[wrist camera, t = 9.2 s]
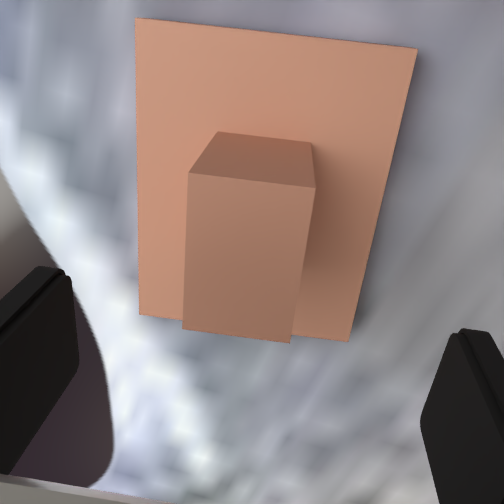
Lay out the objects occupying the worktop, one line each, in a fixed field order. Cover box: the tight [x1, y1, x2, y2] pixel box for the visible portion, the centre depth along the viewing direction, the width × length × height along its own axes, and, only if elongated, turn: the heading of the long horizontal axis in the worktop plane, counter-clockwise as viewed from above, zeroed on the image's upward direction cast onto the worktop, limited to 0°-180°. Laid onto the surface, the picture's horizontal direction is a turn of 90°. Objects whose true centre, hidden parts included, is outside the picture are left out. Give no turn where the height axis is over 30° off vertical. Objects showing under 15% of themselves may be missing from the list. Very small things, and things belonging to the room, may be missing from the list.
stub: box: [135, 18, 418, 343], centre depth 19 cm, size 11×14×7 cm
